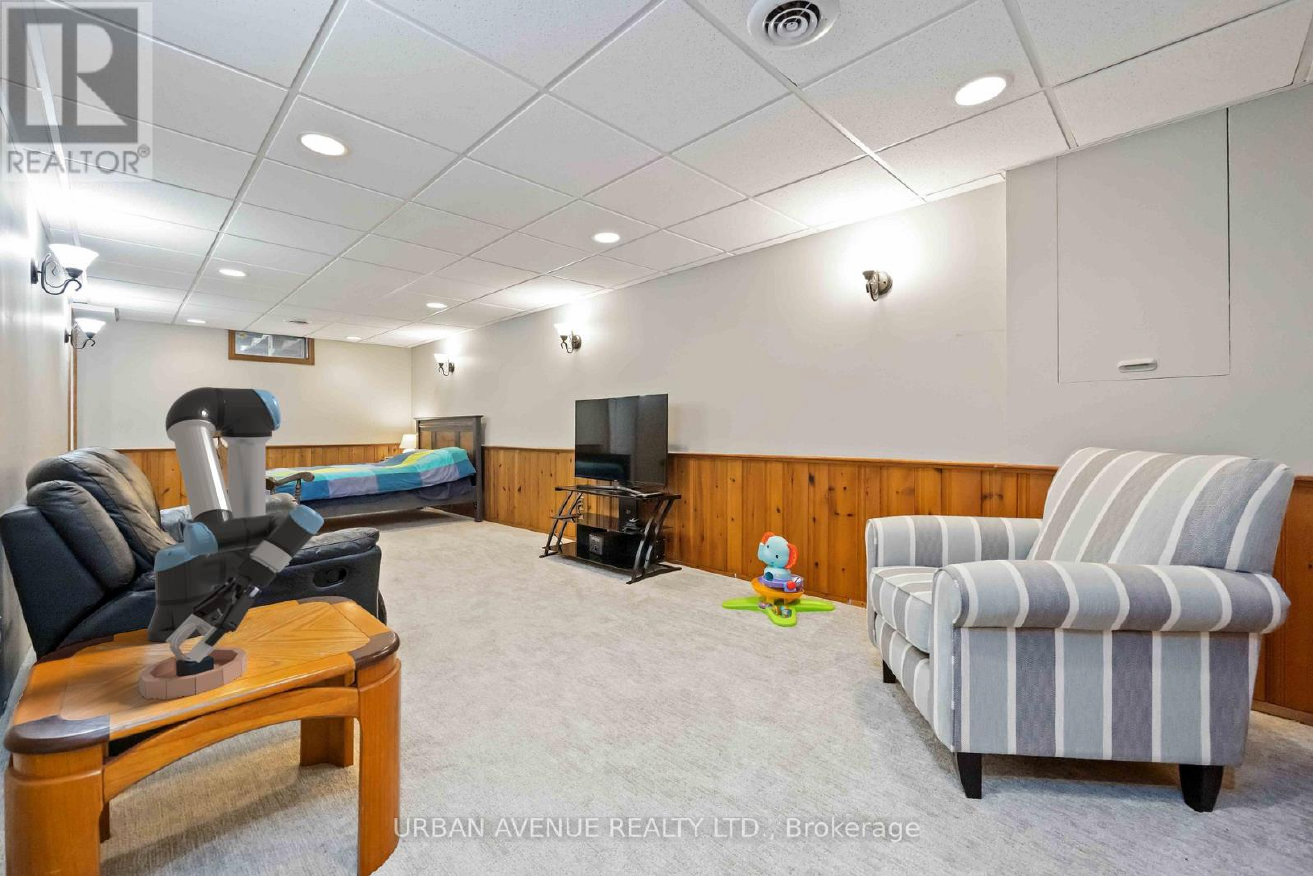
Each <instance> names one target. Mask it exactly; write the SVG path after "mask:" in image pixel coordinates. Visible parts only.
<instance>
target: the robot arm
mask: <svg viewBox="0 0 1313 876" xmlns="http://www.w3.org/2000/svg"><path fill="white" fill-rule="evenodd" d="M281 421H282V417H281V410H280V406H279V402H278V399H277V397H276V396H274V394H273V393H272V392H271V391H269V390H265V389H257V388H233V387H232V388H230V387H212V386H211V387H210V386H205V387H198V388H194V389H191V390H189V391H187V392H185V393H183V394H182V395H180V396H179V397H178V398H177V399H176V400H175V401H174V402H173V403H172V405H171V406H170V408H169V409H168V411H167V414H166V417H165V430H166V436H167V439H169V440H170V441H172V442H174V446H175V451H176V456H177V459H178V462H179V463H178V464H179V468H180V473H181V476H182V481H183V486H184V489H185V493H186V498H187V503H188V507H189V511H190V516H191V520H192V523H188V524H186V525H185V527H184V528H183V534H182V537H183V542H178V543H175V544H174V543H173V544H171V545H168V546H166V547H162V548H161V549H159V550H158V551H157V552H156V553H155V557H154V558H155V559H154V567H153V571H154V583H155V586H154V588H155V609H154V611H153V615H152V617H151V619H150V621H149V622H150V623H149V625H148V627H147V631H146V632H147V634H146V635H147V640H149V641H150V642H151V641H152V642H166V643H168V644H169V645H170V644H171V643H170V640H171V637H172V636H173V634H174V633H175V631H176V630H177V629H178V628H180V627H181V626H183V625H184V624H187V623H189V622H194V621H196V622H201V621H205V622H207V623H208V624H210V625H211V626H212V628H211V629H210V630H209V631H208V632H207V633H206V635H205V636H202V635H201V634H200V633H199V632H198V630H197V629H196V625H195V626H192V627H190V628H188V629H186V630H185V631H184V632H183V633H182V634H181V635H180V636H179V638H178V640H177V643H178V647H179V648H180V647H181V645H182V644H183V643H184V642H185V641H186V640H187V639H191V638H195V637H198V636H202V637H201V639H200V640H199V641H198V642H197V643H196V644H195V645H194V646H193V647H192V648H191V650H189V651H188V652H189V653H188V652H187V653H188V654H187V655H186V657H188V658H190V659H192V660H194V661H197V662H200V661H201V660H202V659H203V658H204V657H205V656H206V655H207V653H208V652H209V651H210V650H211V649H212V648H213V647H214V646H215V645H216V646H217V644H218V643H219V641H220V640H221V639H222V638H223V637H224V636H225V635H226V634H228V633H230V632H232V633H235V632H236V630H237V629H238V628H239V626H240V625H241V623H242V621H243V619H245V617H246V615H247V613H248V612H249V610H250V608H251V607H252V605H253V604H254V602H255V600H256V599H258V597H259V596H260V595H261V593H262V591H263V590H261V589H262V588H264V589H265V588H267V587H268V586H269V585H270V584H271V583H272V581H274V579H276V577H277V573H280V572H281V571H282V570H283V569H284V568H285V567H287V566H289V565H290V563H289V562H291V560H292V559H294V557H295V556H296V555H297V554H298V553H299V552H300V551H301V549H303V548H304V547H305V545H306V544H307V543H308V542H309V541H310V540H311V539H312V538H313V537H314V536H315V535H316V534H317V533H318V531H319V530H320V529H321V527H322V526H323V525H324V523H325V520H324V518H323V517H322V516H321V515H320V514H319V513H318V512H317V511H316V510H314V509H312V508H311V507H308V506H306V505H305V504H298V505H296V506H295V507H294V508H293V509H292V510H290V511H289V512H288V513H285V512H281V511H280V512H278V511H277V512H270V513H267V514H266V511H267V509H266V508H267V507H266V501H267V500H266V499H267V498H266V497H267V496H266V494H267V492H266V487H267V483H266V476H267V475H266V471H267V469H266V468H267V467H266V460H267V458H266V447H267V446H266V443H267V442H269V441H270V440H271V439H273V432H275V431H278V430H279V428H280V427H281V423H282V422H281ZM217 431H218V432H219V431H220V438H221V439H223V440H224V441H225V443H227V486H226V482H225V478H224V475H223V472H222V471H223V470H222V466H221V463H220V460H219V456H218V453H217V452H218V451H217V449H216V445H215V441H214V436H215V434H216V432H217ZM215 587H217V588H215ZM258 587H260V588H261V589H259V588H258ZM214 588H215V589H214ZM226 604H227V605H226ZM225 605H226V607H225V609H224V610H223V613H221V610H220V608H221V607H223V606H225Z"/></svg>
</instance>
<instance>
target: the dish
mask: <svg viewBox="0 0 1313 876" xmlns="http://www.w3.org/2000/svg"><path fill="white" fill-rule="evenodd" d="M189 652H190V651H188V652H185V653H183V654H184V655H185V656H186V655H187V654H188V653H189ZM208 656H210V657H213V658H214V669H213V670H209V671H206V672H203V673H199V674H196V675H190V676H184V677H179V676H177V675H176V661H177V660H180V659H179V658H177V657H176V656H175V655H173V656H170V657H167V658H165V659H163V660H161V661H158V662H155V663H154V664H151V665H149V666H147V667H146V668H145V669H144V670H143V671H142V672H141V673H140V674H138V689H139V690H138V691H139V692H140V693H141V694H140V693H139V694H140V695H141V696H142V697H143V696H144V697H145V698H144V697H143V698H144V699H145V700H172V699H173V700H174V699H177V697H179V698H183V697H182V696H184V697H189V696H194V695H195V696H196V695H199V694H202V693H205V692H208V691H211V690H215V689H217V688H221V687H223V686H225V685H226V686H227V684H229V683H231V682H233V681H235V680H237V679H239V678H241V677H242V676H243V675H244V673H245V672H246V670H247V669H248V652H247V651H246V650H244V649H242V648H241V647H239V646H237V647H235V646H217V647H215V648H214V650H213V651H212V652H211V653H210V654H209V655H208ZM246 668H247V669H246ZM236 678H237V679H236ZM234 679H235V680H234ZM204 691H205V692H204ZM198 693H199V694H198ZM151 698H153V699H151ZM157 698H158V699H157Z"/></svg>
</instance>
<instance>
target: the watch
mask: <svg viewBox="0 0 1313 876" xmlns="http://www.w3.org/2000/svg"><path fill="white" fill-rule="evenodd" d="M195 625H196V629H197V630H198V632H199V633H200V634H201V635H200V636H202V637H204V636H205V635H206V633H207V632H208V631H209V630H210V629H211V628H212V626H211V625H210V624H208V623H207V622H205V621H201V622H196V621H194V622H189V623H187V624H184V625H183V626H181V627H180V628H178V629H177V630H176V631H175V633H174V634H173V636H172V637H171V640H170V643H171V644H170V643H169V648H170V650H171V652H172V654H173V656H176V657H177V658H179V659H180V660H177V661H176V675H177V676H179V677H184V676H190V675H196V674H199V673H203V672H206V671H209V670H213V669H214V658H213V657H210V656H208V655H209V654H210V653H211V652H212V651H213V650H214V648H216V646H217V644H216V645H215V646H214V647H213V648H212V649H211V650H210V651H209V652H208V653H207V655H206V656H205V657H204V658H203V659H202V660H201V661H200V662H197V661H194V660H192V659H190V658H188V657H186V656H185V655H184V653H183V651H182V650H181V648H180V646H179V647H178V643H177V640H178V638H179V636H180V635H181V634H182V633H183V632H184V631H185V630H186V629H188V628H190V627H192V626H195Z"/></svg>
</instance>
